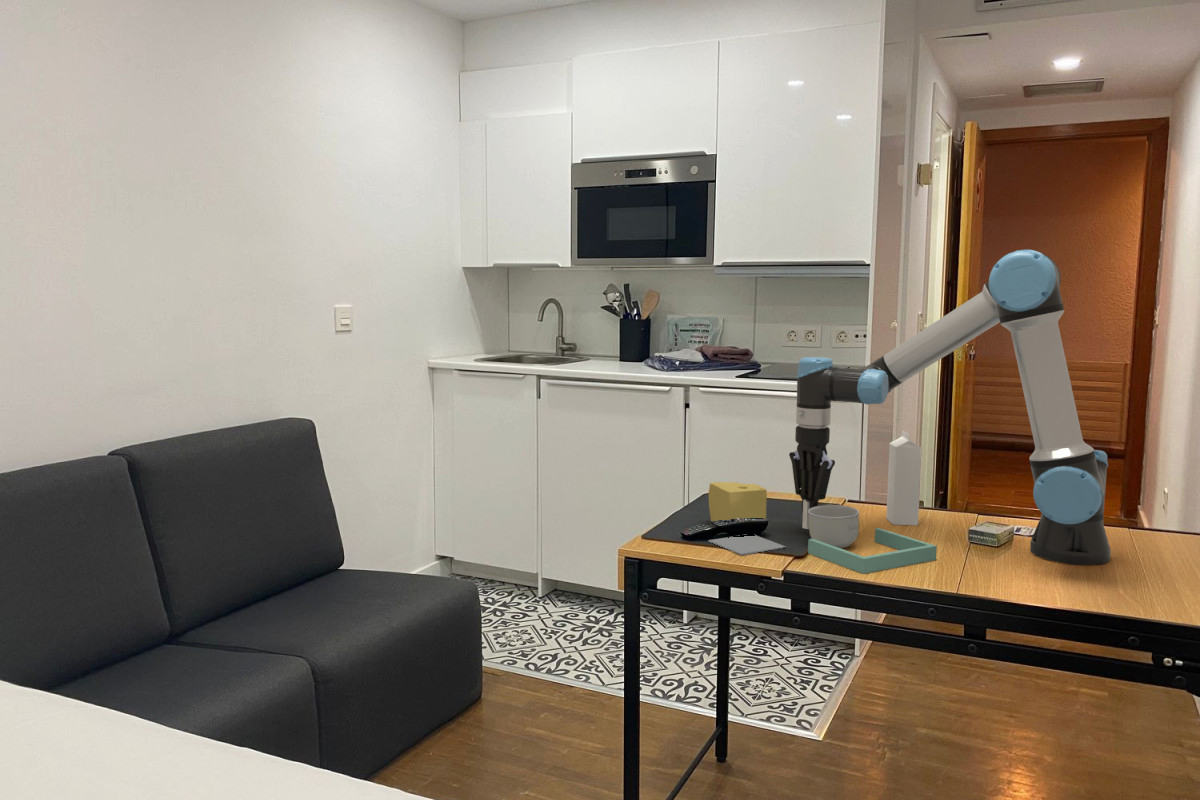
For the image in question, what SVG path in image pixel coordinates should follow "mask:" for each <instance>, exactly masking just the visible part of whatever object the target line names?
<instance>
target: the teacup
mask: <svg viewBox="0 0 1200 800" xmlns="http://www.w3.org/2000/svg"><path fill="white" fill-rule="evenodd" d="M808 514H809V529H808V530H809V536H810V539H815V540H818V541H821V542H823V543H826V544H829V545H832V546H835V547H838V548H841V549H844V548H848V547H850V546H851V544H853V543H854V542H855V541H856V540H857V538H858V535H859V527H860V526H859V525H860V524H859V522H860V518H859V515H860V510H859V509H858V508H855V507H853V506H848V505H840V504H839V505H838V504H832V503H825V504H824V505H823V504H822V505H818V506H816V507H813V508H810V509H809V510H808Z"/></svg>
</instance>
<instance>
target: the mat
mask: <svg viewBox="0 0 1200 800" xmlns="http://www.w3.org/2000/svg"><path fill="white" fill-rule="evenodd" d="M754 535H755V536H744V537H733V536H728V537H729V538H728V537H722V538H715V539H709V540H708V542H707V543H709V542H710V544H712V543H713V544H712V545H714V544H715V545H714V546H716V545H718V546H717V547H719V546H720V547H719V548H721V547H723V548H722V549H724V548H725V549H724V550H726V549H728V550H730V551H729V552H731V551H733V552H735V553H734V554H736V553H737V554H736V555H738V554H739V556H740V555H743V556H748V555H747V554H749V555H754V553H755V554H759V553H758V552H762V553H765V552H764V551H768V550H774V549H778V548H783V547H786V548H787V546H785V545H782V544H780V543H778V542H775V541H772V540H769V539H767V538H765V537H761V536H759V535H756V534H754ZM728 550H727V551H728ZM774 551H775V550H774ZM733 552H732V553H733ZM768 552H769V551H768Z"/></svg>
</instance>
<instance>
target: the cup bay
mask: <svg viewBox="0 0 1200 800" xmlns="http://www.w3.org/2000/svg"><path fill="white" fill-rule="evenodd" d="M807 542H808V543H807V554H809V555H812V556H814V557H817V558H820V559H823V560H825V561H828V562H831V563H833V564H836V565H838V566H842V567H844V568H846V569H850V570H852V571H855V572H857V573H860V574H863V575H864V574H868V573H869V574H870V573H873V572H881V571H884V570H885V571H886V570H890V569H895V568H896V569H897V568H900V567H907V566H910V565H916V564H922V563H926V562H927V563H928V562H933V561H936V560H937V553H938V552H937V551H938V549H937V548H938V546H937V545H935V544H933V543H929V542H925V541H922V540H920V539H915V538H913V537H909V536H907V535H903V534H900V533H897V532H893V531H890V530H887V529H883V528H880V527H878V528H877V527H876V528H874V543H876V544H880V545H884V546H887V547H889V548H892V549H896V550H895V551H894V550H893V551H888V552H883V553H877V554H872V555H866V556H863V555H861V554H860V555H859V554H857V553H855V552H851V551H849V550H846V549H844V548H838V547H835V546H832V545H829V544H826V543H823V542H821V541H818V540H815V539H812V538H808V541H807Z"/></svg>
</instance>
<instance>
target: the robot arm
mask: <svg viewBox="0 0 1200 800" xmlns="http://www.w3.org/2000/svg"><path fill="white" fill-rule="evenodd" d="M1061 276H1062V275H1061V272H1060V268H1059V266H1058V265H1057V263H1056V262H1055V261H1054V260H1053V259H1052V258H1051V257H1049V256H1048V255H1046V254H1044V253H1042V252H1039V251H1037V250H1033V249H1025V248H1024V249H1020V250H1015V251H1012V252H1009V253H1007V254H1006V255H1003V257H1001V258H1000V259H999V260H998V261H997V262H996V263H995V264H994V265H993V267H992V268H991V271H990V274H989V276H988V277H989V278H988V282H986V283H984V284H983V286H982V291H980V292H979V293H978V294H976V295H974V296H973V297H972V298H970V299H968V300H967V301H965V302H964V303H962V304H961V305H959V306H958V307H956V308H955V309H952V311H950V312H949V313H947V314H945V315H944V316H942V317H941V318H939V319H937V321H935V322H933V323H931V324H930V325H928V326H926V327H925V328H924V329H922V330H921V331H918V333H916V334H915V335H913V336H912V337H910V338H909V339H907V340H905V341H904V342H902V343H901V344H898V346H896V347H895V348H892V349H891V350H889V351H888V352H886V353H885V354H883V355H882V356H881V357H879V358H877V359H875V360H874V361H873V362H871V363H870V364H868V365H866V366H863V367H858V368H856V367H855V368H852V367H836V366H834V364H833V359H832V358H830V357H822V356H805V357H802V358H800V359H799V361H798V364H797V366H798V367H797V376H796V413H795V414H796V415H795V419H796V420H795V423H796V424H797V425H796V427H795V438H794V440H795V442H796V443H797V446H796V450H795V451H791V452H789V453H788V454H789V456H788V457H789V459H790V463H791V467H792V475H793V482H794V483H793V484H794V489H795V492H794V493H795V494H796V495H797V496H800V499H801V513H802V525H801V526H802V529H806V530H809V514H808V510H809V509H810V508H813V507H816V506H819V501H821V500H825V499H826V498H827V497H826V496H827V492H828V488H829V483H830V478H831V473H832V470H833V468H834V466H835V465H836V461H835V460H834V459H830V457H828V451H827V445H828V444H829V443H830V433H831V432H830V431H831V430H830V427H829V426H830V425H831V407H832V406H831V404H832V402H842V403H855V404H864V405H881V404H883V403H885V401H886V399H887V398H888V394H889V393H891V392H892V390H894V389H895V388H897V387H898V386H899V385H901V384H903V383H904V382H906V381H907V380H909V379H911V378H912V377H913V376H915V375H918V374H919V373H920V372H922V371H923V370H925V369H927V368H929V367H930V366H932V365H933V364H935V363H936V362H938V361H940V360H941V359H943V358H944V357H946V356H948V355H950V354H952V353H953V352H955V350H957V349H960V348H961V347H963V346H964V345H966V344H967V343H969V342H970V341H972V340H974V339H975V338H977V337H978V336H980V335H982V334H983V333H985V332H986V331H988V330H989V329H992V328H993V327H995V326H996V325H998V324H1000V326H1001V327H1004V328H1005V329H1007V330H1008V331H1009V332H1010V334H1011V339H1012V343H1013V349H1014V354H1015V358H1016V362H1017V363H1016V364H1017V367H1018V372H1019V377H1020V382H1021V387H1022V391H1023V395H1024V400H1025V406H1026V409H1027V415H1028V420H1029V424H1030V429H1031V434H1032V438H1033V442H1034V443H1033V444H1034V451H1033V452H1032V454H1031V455H1030V456H1029V464H1030V469H1031V474H1032V478H1033V483H1034V485H1033V489H1032V490H1033V493H1032V495H1033V497H1032V498H1033V501H1034V502H1035V505H1036V508H1037V509H1038V510H1039V512H1041V516H1040V519H1039V521H1038V523H1037V525H1036V528H1035V530H1034V532H1033V535H1032V537H1031V539H1030V548H1029V551H1030V553H1032V554H1033V555H1034V556H1036V557H1039V558H1041V559H1045V560H1048V561H1052V562H1057V563H1062V564H1068V565H1069V564H1071V565H1078V566H1079V565H1081V566H1096V565H1103V564H1108V563H1109V562H1110V561H1111V553H1112V552H1111V546H1110V544H1109V540H1108V536H1107V533H1106V532H1107V531H1106V529H1105V524H1104V515H1105V513H1104V512H1105V499H1106V489H1107V488H1106V486H1107V485H1106V484H1107V472H1108V467H1109V463H1108V454H1107V453H1106V452H1105V451H1103V450H1099V449H1094V448H1093V447H1092V446H1091V445H1089V444H1088V443H1086V442H1085V441H1084V438H1083V434H1082V430H1081V426H1080V421H1079V416H1078V415H1079V414H1078V411H1077V406H1076V403H1075V397H1074V393H1073V388H1072V383H1071V378H1070V374H1069V370H1068V369H1069V368H1068V364H1067V360H1066V355H1065V351H1064V346H1063V341H1062V336H1061V332H1060V327H1059V320H1060V319H1061V317H1062V316H1063V314H1064V313H1065V309H1064V308H1065V307H1064V304H1063V299H1062V294H1061V290H1060V289H1061V284H1062V283H1061V281H1062V278H1061Z"/></svg>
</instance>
